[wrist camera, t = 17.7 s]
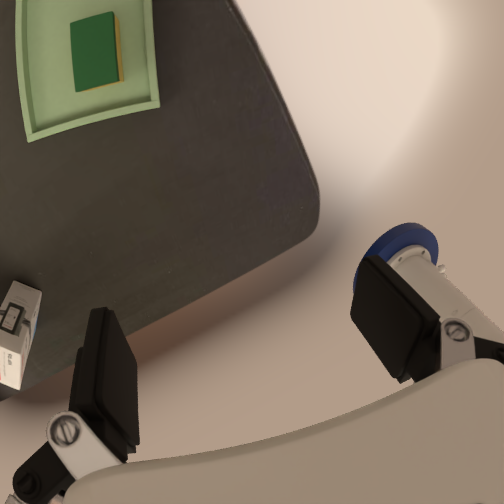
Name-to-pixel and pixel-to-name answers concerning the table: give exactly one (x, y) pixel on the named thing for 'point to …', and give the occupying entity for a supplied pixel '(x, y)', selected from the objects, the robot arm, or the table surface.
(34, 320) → the ink box
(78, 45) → the sponge
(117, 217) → the table surface
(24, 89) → the tray
